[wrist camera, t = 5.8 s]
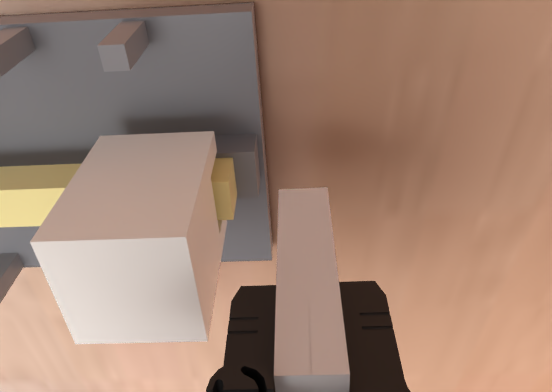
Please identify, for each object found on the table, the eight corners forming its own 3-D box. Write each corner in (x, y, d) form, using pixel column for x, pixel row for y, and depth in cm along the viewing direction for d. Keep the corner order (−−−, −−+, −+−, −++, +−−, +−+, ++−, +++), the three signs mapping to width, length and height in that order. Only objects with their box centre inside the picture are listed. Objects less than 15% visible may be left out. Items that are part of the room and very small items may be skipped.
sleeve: (126, 225, 19) (75, 344, 15) (100, 135, 17) (29, 242, 12) (227, 222, 19) (207, 341, 15) (214, 130, 17) (185, 236, 12)
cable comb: (-130, 255, 24) (-212, 334, 20) (-287, 31, 18) (-451, 82, 14) (272, 243, 23) (269, 323, 19) (253, 2, 17) (243, 48, 13)
